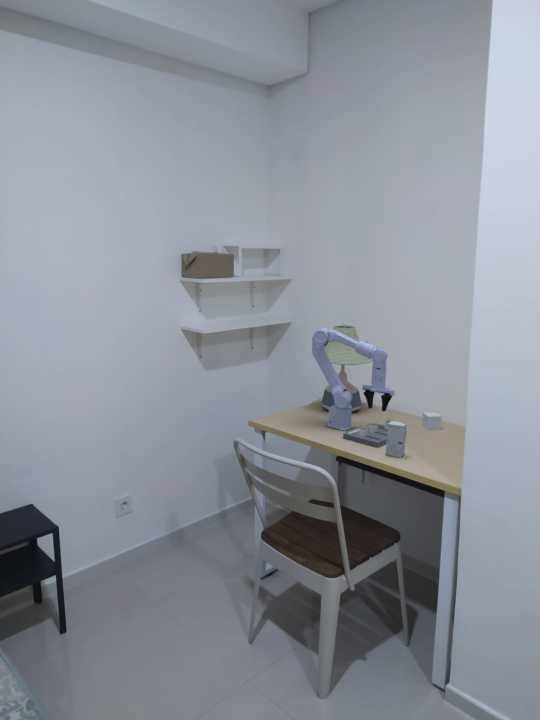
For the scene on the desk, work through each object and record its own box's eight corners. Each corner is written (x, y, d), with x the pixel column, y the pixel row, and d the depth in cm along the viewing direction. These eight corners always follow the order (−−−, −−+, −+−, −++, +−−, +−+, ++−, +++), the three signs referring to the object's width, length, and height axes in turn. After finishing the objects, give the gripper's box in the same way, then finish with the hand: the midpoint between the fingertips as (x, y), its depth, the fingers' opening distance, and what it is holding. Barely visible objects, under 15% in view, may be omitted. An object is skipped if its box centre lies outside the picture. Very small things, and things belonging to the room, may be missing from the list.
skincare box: (385, 455, 204) (387, 423, 202) (389, 451, 207) (390, 420, 205) (401, 458, 201) (403, 426, 199) (405, 454, 204) (407, 423, 202)
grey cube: (427, 430, 236) (428, 416, 235) (422, 426, 242) (422, 412, 241) (441, 429, 237) (442, 416, 236) (435, 425, 242) (435, 412, 241)
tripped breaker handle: (384, 429, 228) (385, 421, 227) (388, 427, 230) (389, 419, 229) (388, 430, 226) (389, 422, 226) (392, 428, 229) (393, 420, 228)
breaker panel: (343, 438, 222) (343, 425, 221) (373, 427, 238) (373, 415, 237) (377, 447, 212) (378, 434, 211) (406, 435, 227) (407, 422, 226)
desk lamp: (301, 408, 266) (303, 322, 259) (340, 399, 285) (343, 319, 278) (342, 420, 248) (346, 328, 240) (380, 410, 266) (385, 324, 259)
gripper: (358, 376, 231) (357, 407, 233) (389, 381, 221) (387, 414, 223) (368, 374, 236) (366, 405, 238) (398, 379, 226) (396, 411, 228)
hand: (377, 409), depth 231 cm, fingers open, 6 cm apart
